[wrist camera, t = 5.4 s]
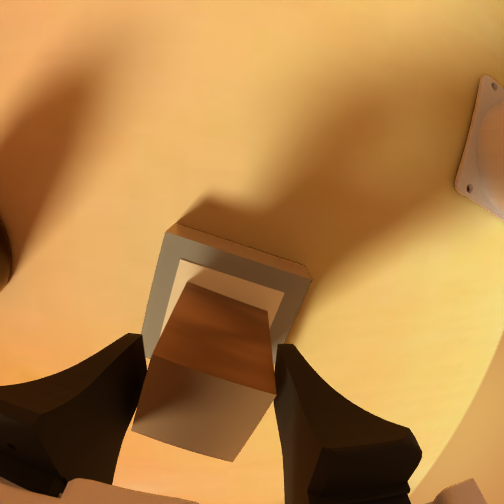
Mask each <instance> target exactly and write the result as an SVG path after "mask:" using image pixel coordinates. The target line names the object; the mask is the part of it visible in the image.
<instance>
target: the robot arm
mask: <svg viewBox="0 0 504 504" xmlns="http://www.w3.org/2000/svg"><path fill="white" fill-rule="evenodd" d="M492 86H493V88H492ZM493 89H494V90H493ZM454 185H455V189H456V191H457V192H459V193H460V194H462V195H463V196H465V197H467V198H468V199H470V200H472V201H473V202H475V203H476V204H478V205H479V206H481V207H482V208H484V209H486V210H487V211H489V212H490V213H492V214H493V215H495V216H496V217H498V218H499V219H500V220H502V221H503V222H504V88H503V87H502V86H501V85H500V84H499V83H497V82H496V81H495V80H494V79H493V78H491V77H490V76H489V75H483V76H481V78H480V84H479V89H478V94H477V99H476V104H475V109H474V113H473V117H472V122H471V126H470V130H469V134H468V138H467V141H466V145H465V149H464V152H463V156H462V159H461V163H460V166H459V169H458V173H457V176H456V179H455V183H454ZM468 185H469V190H468V192H467V186H468ZM146 374H147V366H146V359H145V351H144V343H143V335H142V334H133V333H128V334H126V335H124V336H123V337H121V338H119V339H118V340H116V341H115V342H113V343H112V344H110V345H109V346H107V347H106V348H104V349H102V350H101V351H99V352H98V353H96V354H94V355H93V356H91V357H89V358H87V359H86V360H84V361H82V362H80V363H79V364H77V365H75V366H73V367H71V368H68V369H66V370H64V371H61V372H59V373H56V374H53V375H50V376H47V377H44V378H41V379H38V380H34V381H30V382H26V383H21V384H15V385H7V386H0V504H199V503H197V502H193V501H188V500H184V499H180V498H175V497H168V496H162V495H156V494H150V493H145V492H140V491H135V490H130V489H126V488H121V487H117V486H113V485H112V482H113V477H114V472H115V468H116V464H117V459H118V456H119V452H120V448H121V445H122V441H123V438H124V436H125V433H126V431H127V428H128V426H129V424H130V422H131V419H132V417H133V415H134V412H135V410H136V408H137V406H138V403H139V399H140V395H141V391H142V388H143V384H144V381H145V377H146ZM274 376H275V385H276V397H275V398H274V408H275V414H276V419H277V425H278V430H279V436H280V441H281V447H282V454H283V469H284V491H285V504H411V502H410V500H409V497H408V495H407V494H408V493H409V492H410V487H409V485H408V482H407V481H408V480H409V478H410V477H411V475H412V474H413V472H414V471H415V469H416V468H417V466H418V465H419V462H420V460H421V458H422V451H421V449H420V447H419V445H418V442H417V440H416V438H415V436H414V435H413V433H412V432H411V430H410V429H409V428H407V427H404V426H401V425H398V424H395V423H392V422H389V421H386V420H384V419H382V418H380V417H377V416H375V415H373V414H371V413H369V412H367V411H365V410H363V409H362V408H360V407H358V406H357V405H355V404H353V403H352V402H350V401H349V400H347V399H346V398H345V397H343V396H342V395H341V394H339V393H338V392H337V391H335V390H334V389H333V388H332V387H331V386H330V385H328V384H327V383H326V382H325V381H324V380H323V379H322V378H321V377H320V376H319V375H318V374H317V372H316V371H315V370H314V369H313V368H312V367H311V366H310V365H309V363H308V362H307V361H306V360H305V359H304V357H303V356H302V355H301V353H300V352H299V351H298V349H297V348H296V347H295V346H294V345H293V344H277V353H276V362H275V371H274ZM427 504H487V502H486V501H485V499H484V497H483V495H482V493H481V491H480V490H479V488H478V486H477V484H476V482H475V481H474V479H468V480H466V481H463V482H460V483H458V484H455V485H452V486H450V487H447V488H445V489H444V490H443V491H441V492H440V493H439V494H438V495H437V496H436V498H435V499H434V501H433V502H430V503H427Z"/></svg>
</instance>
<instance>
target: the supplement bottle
mask: <svg viewBox="0 0 504 504" xmlns="http://www.w3.org/2000/svg"><path fill="white" fill-rule="evenodd" d="M10 269H11V252H10V246H9V241H8V238H7V235H6V232H5V229H4V227H3V225H2V223H1V221H0V292H1V291H2V290H3V288H4V287H5V285H6V284H7V281H8V278H9V275H10Z"/></svg>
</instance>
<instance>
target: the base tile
mask: <svg viewBox="0 0 504 504" xmlns="http://www.w3.org/2000/svg"><path fill="white" fill-rule="evenodd" d="M187 281H188V282H190V283H193V284H195V285H198V286H201V287H203V288H206V289H208V290H211V291H214V292H216V293H219V294H222V295H224V296H227V297H230V298H232V299H235V300H238V301H241V302H243V303H246V304H249V305H252V306H254V307H257V308H260V309H263V310H266V311H268V320H269V329H270V338H271V347H272V357H273V366H274V363H275V361H276V353H277V344H284V342H285V340H286V338H287V336H288V334H289V331H290V329H291V327H292V325H293V323H294V320H295V318H296V316H297V314H298V311H299V309H300V307H301V305H302V302H303V300H304V298H305V295H306V293H307V291H308V288H309V286H310V284H311V281H312V278H311V276H310V274H309V272H308V270H307V268H306V266H304V265H301V264H298V263H295V262H292V261H289V260H286V259H283V258H280V257H277V256H274V255H271V254H268V253H265V252H262V251H259V250H256V249H253V248H250V247H247V246H244V245H241V244H238V243H235V242H232V241H229V240H226V239H223V238H220V237H216V236H213V235H210V234H207V233H204V232H201V231H198V230H195V229H192V228H189V227H186V226H183V225H180V224H177V223H175V224H174V225H173V226H171V227H170V228H169V229H168V230H167V231H166V232H165V236H164V239H163V243H162V247H161V251H160V255H159V258H158V262H157V266H156V270H155V274H154V279H153V283H152V287H151V291H150V296H149V300H148V304H147V309H146V313H145V318H144V323H143V327H142V332H141V334H142V335H143V343H144V351H145V357H147V358H149V359H151V356H152V353H153V351H154V349H155V347H156V345H157V343H158V340H159V338H160V336H161V334H162V332H163V330H164V328H165V326H166V324H167V322H168V319H169V317H170V315H171V313H172V311H173V309H174V307H175V305H176V303H177V301H178V299H179V297H180V295H181V293H182V291H183V289H184V287H185V285H186V283H187Z"/></svg>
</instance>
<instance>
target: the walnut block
mask: <svg viewBox="0 0 504 504" xmlns="http://www.w3.org/2000/svg"><path fill="white" fill-rule="evenodd" d="M275 397H276V385H275V376H274V366H273V357H272V347H271V338H270V329H269V320H268V311H266V310H263V309H260V308H257V307H254V306H252V305H249V304H246V303H243V302H241V301H238V300H235V299H232V298H230V297H227V296H224V295H222V294H219V293H216V292H214V291H211V290H208V289H206V288H203V287H201V286H198V285H195V284H193V283H190V282H188V281H187V283H186V285H185V287H184V289H183V291H182V293H181V295H180V297H179V299H178V301H177V303H176V305H175V307H174V309H173V311H172V313H171V315H170V317H169V319H168V322H167V324H166V326H165V328H164V330H163V332H162V334H161V336H160V338H159V340H158V343H157V345H156V347H155V349H154V351H153V353H152V356H151V360H150V363H149V367H148V370H147V374H146V377H145V381H144V384H143V388H142V391H141V395H140V399H139V403H138V406H137V410H136V414H135V418H134V422H133V426H132V429H131V431H134V432H136V433H139V434H142V435H144V436H147V437H150V438H153V439H155V440H158V441H161V442H164V443H167V444H170V445H173V446H176V447H179V448H182V449H186V450H189V451H192V452H196V453H199V454H203V455H206V456H210V457H214V458H217V459H221V460H225V461H230V462H233V461H234V459H235V458H236V457H237V455H238V454H239V452H240V451H241V449H242V448H243V446H244V445H245V443H246V442H247V440H248V439H249V437H250V436H251V434H252V433H253V431H254V430H255V428H256V427H257V425H258V424H259V422H260V421H261V419H262V417H263V416H264V414H265V413H266V411H267V410H268V408H269V406H270V405H271V403H272V402H273V400H274V398H275Z"/></svg>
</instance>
